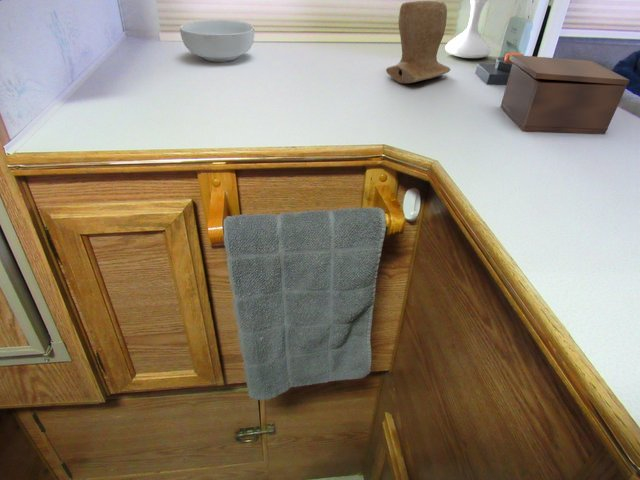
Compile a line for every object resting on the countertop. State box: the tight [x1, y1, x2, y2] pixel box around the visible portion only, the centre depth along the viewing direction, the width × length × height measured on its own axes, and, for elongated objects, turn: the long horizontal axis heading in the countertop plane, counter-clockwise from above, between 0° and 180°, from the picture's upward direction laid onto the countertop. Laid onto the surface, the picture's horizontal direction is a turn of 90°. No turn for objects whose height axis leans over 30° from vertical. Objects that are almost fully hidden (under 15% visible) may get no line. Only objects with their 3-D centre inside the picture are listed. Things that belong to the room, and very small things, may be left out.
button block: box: [474, 56, 513, 86], centre depth 93 cm, size 12×9×4 cm
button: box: [504, 51, 525, 63], centre depth 91 cm, size 4×4×2 cm
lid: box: [509, 55, 630, 86], centre depth 69 cm, size 14×12×1 cm
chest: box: [499, 63, 628, 135], centre depth 72 cm, size 14×12×8 cm
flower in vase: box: [444, 0, 492, 59], centre depth 104 cm, size 13×11×25 cm
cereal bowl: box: [179, 19, 255, 63], centre depth 100 cm, size 17×17×7 cm
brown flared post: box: [385, 0, 451, 84], centre depth 89 cm, size 15×12×15 cm
